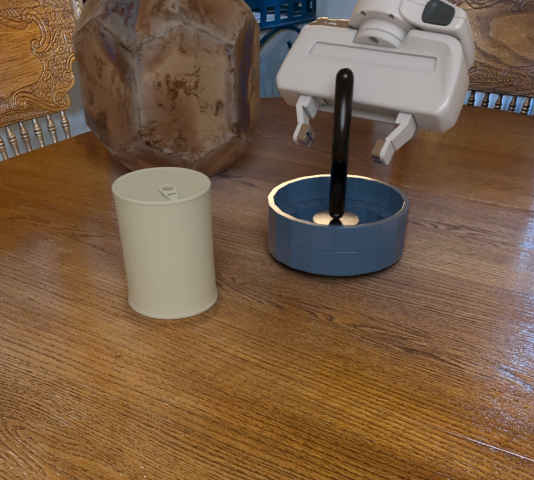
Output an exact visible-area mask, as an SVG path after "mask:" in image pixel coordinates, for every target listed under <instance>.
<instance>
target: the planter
mask: <svg viewBox="0 0 534 480" xmlns="http://www.w3.org/2000/svg"><path fill="white" fill-rule="evenodd" d="M260 28H261V27H260V24H259V22H258V20H257V18H256V16H255V14H254V12H253V11H252V8H251V7H250V6H249V4H247V2H246V1H245V0H85V2H84V3H83V6H82V8H81V12H80V14H79V17H78V19H77V23H76V24H75V27H74V30H73V33H72V35H71V41H72V48H73V52H74V53H73V54H74V60H75V65H76V72H77V78H78V84H79V90H80V96H81V102H82V109H83V114H84V115H83V116H84V120H85V125H86V127H88V129H89V130H90V131H91V132H92V134H93V135H94V136H95V137H96V138H97V139H98V141H99V142H100V143H101V144H102V145H103V147H104V148H105V149H106V150H107V151H108V152H109V154H110V155H111V156H112V157H113V159H115V160H117V161H118V162H119V163H120V164H122V165H123V166H125V167H126V168H127V169H129V170H130V171H131V172H133V171H137V170H142V169H147V168H156V167H178V168H186V169H191V170H195V171H198V172H201V173H203V174H204V175H206V176H207V177H208V178H210V177H213V176H216V175H220V174H222V173H224V172H225V171H226V170H227V169H228V168H229V167H230V166H232V164H234V162H236V161H237V160H238V159H239V158H240V157H241V156H242V155H243V154H244V153H245V152H246V151H247V150H248V149H249V148H250V147H252V145H253V143H254V139H255V135H256V130H257V126H258V122H259V117H260V113H261V38H260V37H261V33H260V32H261V31H260V30H261V29H260Z"/></svg>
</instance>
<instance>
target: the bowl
mask: <svg viewBox="0 0 534 480" xmlns="http://www.w3.org/2000/svg"><path fill="white" fill-rule="evenodd" d="M329 190H330V173H329V174H316V175H309V176H308V175H307V176H301V177H297V178H295V179H294V178H293V179H291V180H287V181H285V182H284V181H283V182H282V183H281V184H279V185H277V186H275V187H274V188H272V190H271V191H270V192H269V193H268V195H267V197H266V200H267V201H266V202H267V204H266V206H267V209H266V211H267V212H266V213H267V214H266V215H267V216H266V218H267V219H266V220H267V221H266V223H267V227H266V228H267V230H266V232H267V233H266V235H267V237H266V238H267V249H268V252H269V253H270V254H271V256H272V257H273V258H274V259H275V260H277V262H280V263H282V264H284V265H285V266H287V267H289V268H291V269H295V270H298V271H302V272H305V273H308V274H312V275H318V276H324V277H353V276H361V275H365V274H369V273H370V274H371V273H374V272H379V271H381V270H384V269H386V268H388V267H391V266H393V265H394V264H395V263H396V262H397V261H399V260H400V259H401V258H402V257H403V254H404V251H405V249H406V248H405V246H406V240H407V232H408V225H409V217H410V210H411V200H410V198H409V196H408V194H407V192H405V191H404V190H403V189H401V188H399V187H398V186H397V185H395V184H391V183H390V182H386V181H384V180H380V179H377V178H371V177H367V176H362V175H354V174H347V186H346V200H345V211H348V212H351V213H353V214H355V215H357V216H358V217H359V225H328V224H318V223H312V221H313V216H314V215H315V214H317V213H319V212H322V211H327V210H328V208H329Z"/></svg>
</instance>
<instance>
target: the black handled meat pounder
mask: <svg viewBox="0 0 534 480" xmlns="http://www.w3.org/2000/svg"><path fill="white" fill-rule="evenodd" d="M353 87H354V74H353V72H352V70H351V69H349V68H342V69H340V70H339V71H338V72H337V74H336V80H335V99H334V114H333V118H332V119H333V120H332V136H331V137H332V138H331V155H330V172H329V174H330V190H329V208H328V210H327V211H322V212H319V213H317V214H315V215H314V216H313V221H312V223H318V224H328V225H359V217H358V216H357V215H355V214H353V213H351V212H348V211H345V200H346V186H347V175H348V172H349V168H348V167H349V155H350V145H351V143H350V142H351V129H352V117H351V115H352V101H353Z"/></svg>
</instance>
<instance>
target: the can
mask: <svg viewBox="0 0 534 480" xmlns="http://www.w3.org/2000/svg"><path fill="white" fill-rule="evenodd" d="M211 188H212V182H211V179H210V177H207V176H206V175H204V174H203V173H201V172H198V171H195V170H191V169H186V168H178V167H156V168H147V169H142V170H137V171H133V172H132V171H131V172H127V173H125V174H122V175H121V176H119V177H118V178H116V179H115V180H114V182H113V183H112V185H111V192H112V196H113V200H114V206H115V212H116V219H117V224H118V231H119V238H120V244H121V245H120V246H121V251H122V258H123V263H124V264H123V265H124V269H125V270H124V271H125V278H126V279H125V280H126V286H127V303H128V305H129V307H130V308H131V309H132V310H133V311H134V312H135V313H137V314H138V315H141V316H143V317H146V318H151V319H156V320H182V319H188V318H191V317H195V316H197V315H200V314H203V313H205V312H206V311H208V310H209V309H211V308H212V307H214V305H215V304H216V302H217V300H218V298H219V291H218V288H217V281H216V269H215V268H216V267H215V254H214V253H215V252H214V237H213V236H214V235H213V217H212V216H213V215H212V195H211V194H212V190H211Z"/></svg>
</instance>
